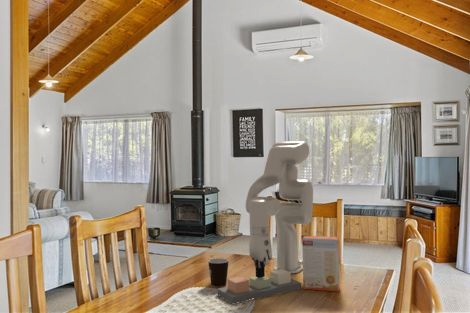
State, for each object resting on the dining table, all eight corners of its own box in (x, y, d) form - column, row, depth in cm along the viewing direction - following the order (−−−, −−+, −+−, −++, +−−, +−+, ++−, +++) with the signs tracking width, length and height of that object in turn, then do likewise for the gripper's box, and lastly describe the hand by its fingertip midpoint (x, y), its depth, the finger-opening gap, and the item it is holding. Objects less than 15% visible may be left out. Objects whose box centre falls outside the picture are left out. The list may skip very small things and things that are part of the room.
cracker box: (339, 287, 176) (339, 236, 176) (338, 292, 170) (337, 239, 170) (305, 284, 181) (304, 234, 180) (302, 289, 175) (302, 237, 175)
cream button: (282, 280, 182) (281, 268, 182) (290, 284, 177) (290, 272, 176) (270, 283, 179) (270, 271, 179) (278, 287, 173) (278, 274, 173)
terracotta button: (241, 289, 172) (240, 276, 172) (249, 293, 166) (249, 280, 166) (227, 291, 169) (227, 279, 168) (235, 296, 163) (235, 282, 163)
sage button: (262, 287, 177) (262, 275, 177) (270, 291, 171) (270, 278, 171) (249, 290, 174) (249, 277, 174) (258, 294, 168) (257, 281, 168)
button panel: (283, 281, 186) (283, 275, 186) (301, 288, 175) (301, 282, 175) (217, 295, 170) (217, 288, 170) (232, 304, 159) (232, 297, 159)
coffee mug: (226, 287, 178) (226, 263, 178) (206, 286, 180) (205, 262, 180) (232, 279, 190) (232, 256, 190) (213, 278, 191) (212, 256, 191)
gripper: (278, 232, 168) (279, 279, 168) (256, 227, 181) (257, 270, 181) (262, 235, 164) (262, 283, 164) (241, 229, 177) (242, 273, 177)
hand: (260, 276), depth 173 cm, fingers closed
